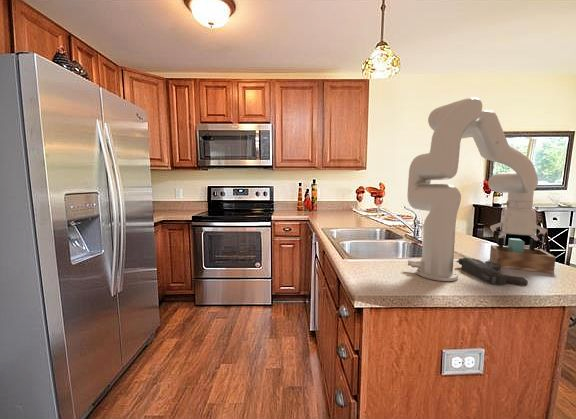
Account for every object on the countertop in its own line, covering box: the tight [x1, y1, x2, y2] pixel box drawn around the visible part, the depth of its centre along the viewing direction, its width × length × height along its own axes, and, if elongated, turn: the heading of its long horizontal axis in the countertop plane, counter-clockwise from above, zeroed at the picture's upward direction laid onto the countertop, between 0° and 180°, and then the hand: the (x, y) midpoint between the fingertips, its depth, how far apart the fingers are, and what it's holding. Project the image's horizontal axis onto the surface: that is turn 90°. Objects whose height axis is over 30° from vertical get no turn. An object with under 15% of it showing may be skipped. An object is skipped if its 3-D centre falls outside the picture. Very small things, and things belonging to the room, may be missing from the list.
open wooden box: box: [489, 244, 556, 274], centre depth 105 cm, size 16×12×6 cm
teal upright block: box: [507, 237, 526, 253], centre depth 105 cm, size 4×9×9 cm, turn 153°
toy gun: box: [455, 257, 529, 286], centre depth 94 cm, size 5×19×15 cm
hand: (515, 248), depth 106 cm, fingers open, 9 cm apart
